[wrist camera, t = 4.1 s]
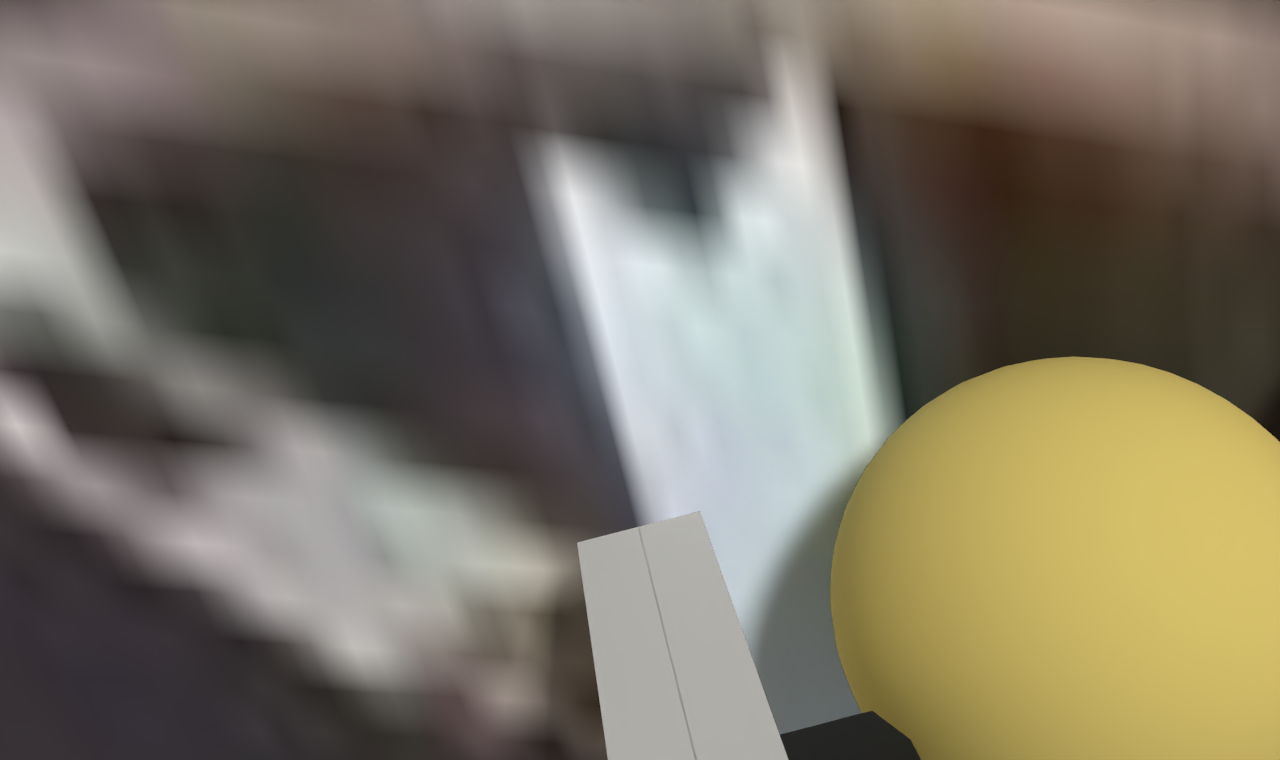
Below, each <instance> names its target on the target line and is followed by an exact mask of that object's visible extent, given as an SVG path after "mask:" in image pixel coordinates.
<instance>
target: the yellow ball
mask: <svg viewBox="0 0 1280 760" xmlns="http://www.w3.org/2000/svg"><path fill="white" fill-rule="evenodd" d="M830 605H831V613H832V621H833V628H834V635H835V642H836V646H837V650H838V654H839V658H840V662H841V665H842V667H843V670H844V673H845V676H846V678H847V681H848V683H849V686H850V688H851V691H852V694H853V696H854V698H855V700H856V702H857V704H858V706H859V708H860V710H861V712H862V713H865V712H869V711H873V712H875V713H876V714H877V715H879V716H880V717H881V718H883V719H884V720H885V721H887V722H888V723H889V724H891V725H892V726H893V727H895V728H896V729H897V730H899V731H900V732H901V733H903V734H904V735H905V736H907V737H908V738H909V739H911V741H912V743H913V745H914V747H915V749H916V751H917V753H918V755H919V757H920V759H921V760H1280V442H1279V441H1278V440H1277V439H1276V438H1275V437H1274V436H1273V435H1272V434H1271V433H1269V432H1268V431H1267V430H1266V429H1265V428H1264V427H1262V426H1261V425H1260V424H1259V423H1258V422H1257V421H1255V420H1254V419H1253V418H1252V417H1250V416H1249V415H1248V414H1246V413H1245V412H1243V411H1242V410H1240V409H1239V408H1237V407H1236V406H1235V405H1233V404H1232V403H1230V402H1229V401H1227V400H1226V399H1224V398H1222V397H1220V396H1219V395H1217V394H1215V393H1213V392H1211V391H1210V390H1208V389H1206V388H1204V387H1202V386H1200V385H1199V384H1196V383H1194V382H1191V381H1189V380H1187V379H1184V378H1182V377H1179V376H1177V375H1175V374H1172V373H1170V372H1166V371H1163V370H1160V369H1156V368H1153V367H1150V366H1146V365H1143V364H1137V363H1132V362H1126V361H1121V360H1115V359H1104V358H1088V357H1061V358H1047V359H1040V360H1034V361H1028V362H1023V363H1019V364H1014V365H1009V366H1005V367H1001V368H999V369H996V370H994V371H991V372H988V373H986V374H983V375H980V376H978V377H975V378H973V379H970V380H967V381H965V382H962V383H960V384H959V385H957V386H955V387H953V388H952V389H950V390H948V391H947V392H945V393H943V394H942V395H940V396H938V397H937V398H935V399H934V400H932V401H931V402H929V403H927V404H926V405H924V406H923V407H922V408H921V409H919V410H918V411H917V412H916V413H915V414H914V415H912V416H911V417H910V418H909V419H908V420H907V421H905V422H904V423H903V424H902V425H901V426H900V427H899V428H898V429H897V430H896V431H895V432H894V433H893V434H892V435H891V436H890V437H889V438H888V439H887V441H886V442H885V443H884V444H883V446H882V447H881V448H880V449H879V451H878V452H877V453H876V455H875V456H874V457H873V459H872V460H871V462H870V463H869V464H868V466H867V467H866V468H865V470H864V472H863V474H862V476H861V478H860V479H859V481H858V483H857V485H856V487H855V489H854V491H853V493H852V495H851V497H850V499H849V502H848V504H847V506H846V509H845V512H844V515H843V518H842V521H841V524H840V527H839V531H838V535H837V539H836V543H835V547H834V554H833V560H832V569H831V586H830Z"/></svg>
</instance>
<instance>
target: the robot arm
mask: <svg viewBox="0 0 1280 760" xmlns="http://www.w3.org/2000/svg"><path fill="white" fill-rule="evenodd" d="M577 546H578V553H579V560H580V567H581V574H582V581H583V588H584V595H585V602H586V609H587V616H588V623H589V630H590V637H591V644H592V651H593V658H594V665H595V672H596V679H597V687H598V694H599V701H600V708H601V715H602V722H603V729H604V736H605V743H606V750H607V757H608V760H921V759H920V757H919V755H918V753H917V751H916V749H915V747H914V745H913V743H912V741H911V739H909V738H908V737H907V736H905V735H904V734H903V733H901V732H900V731H899V730H897V729H896V728H895V727H893V726H892V725H891V724H889V723H888V722H887V721H885V720H884V719H883V718H881V717H880V716H879V715H877V714H876V713H875V712H873V711H869V712H865V713H861V714H857V715H854V716H850V717H846V718H842V719H838V720H835V721H831V722H827V723H823V724H819V725H816V726H812V727H808V728H804V729H801V730H797V731H793V732H789V733H785V734H782V735H780V734H779V732H778V729H777V726H776V723H775V720H774V718H773V715H772V712H771V709H770V706H769V704H768V701H767V698H766V695H765V693H764V690H763V687H762V684H761V681H760V679H759V676H758V673H757V670H756V667H755V665H754V662H753V659H752V656H751V653H750V651H749V648H748V645H747V642H746V639H745V637H744V634H743V631H742V628H741V625H740V623H739V620H738V617H737V614H736V611H735V609H734V606H733V603H732V600H731V597H730V595H729V592H728V589H727V586H726V583H725V581H724V578H723V575H722V572H721V570H720V567H719V564H718V561H717V558H716V556H715V553H714V550H713V547H712V544H711V542H710V539H709V536H708V533H707V530H706V528H705V525H704V522H703V519H702V516H701V514H700V511H698V512H694V513H691V514H687V515H683V516H679V517H675V518H671V519H667V520H663V521H660V522H656V523H652V524H648V525H644V526H640V527H636V528H632V529H629V530H625V531H621V532H617V533H613V534H609V535H605V536H601V537H598V538H594V539H590V540H586V541H582V542H578V543H577Z"/></svg>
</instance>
